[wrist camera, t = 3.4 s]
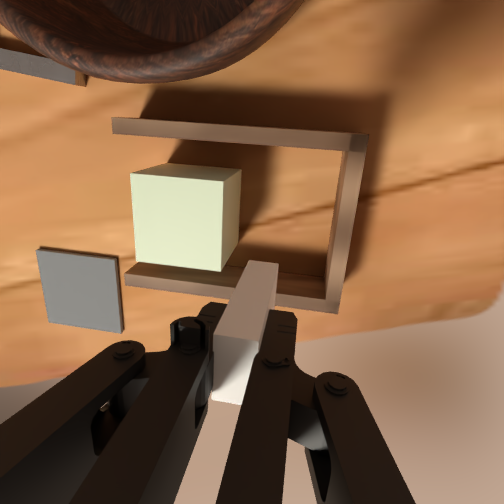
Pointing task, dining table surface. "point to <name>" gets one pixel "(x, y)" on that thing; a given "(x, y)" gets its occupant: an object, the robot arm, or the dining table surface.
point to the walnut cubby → (224, 283)
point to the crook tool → (39, 67)
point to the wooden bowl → (145, 34)
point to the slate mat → (81, 290)
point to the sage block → (186, 215)
